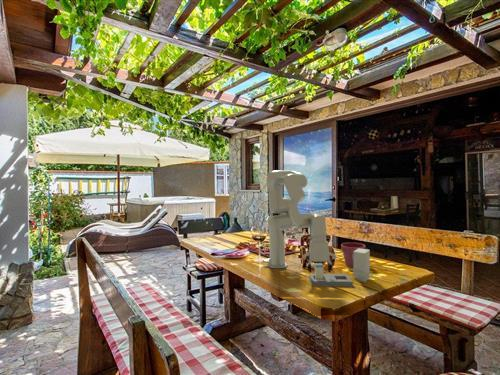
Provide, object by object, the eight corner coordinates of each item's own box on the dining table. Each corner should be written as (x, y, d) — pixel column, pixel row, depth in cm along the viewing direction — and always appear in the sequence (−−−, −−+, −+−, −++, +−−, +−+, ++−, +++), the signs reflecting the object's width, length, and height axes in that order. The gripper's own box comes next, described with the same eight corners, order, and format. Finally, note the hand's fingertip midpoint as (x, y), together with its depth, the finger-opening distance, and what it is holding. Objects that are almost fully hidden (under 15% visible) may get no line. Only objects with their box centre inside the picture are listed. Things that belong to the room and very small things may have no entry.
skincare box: (358, 276, 164) (358, 247, 163) (370, 278, 160) (370, 249, 159) (352, 280, 157) (352, 250, 157) (365, 282, 153) (365, 252, 153)
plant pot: (348, 269, 176) (348, 248, 176) (337, 263, 190) (337, 243, 189) (370, 267, 179) (370, 246, 178) (357, 261, 192) (357, 241, 192)
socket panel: (311, 287, 148) (311, 280, 148) (309, 279, 160) (309, 273, 160) (352, 287, 146) (352, 281, 146) (347, 279, 158) (347, 273, 158)
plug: (315, 283, 152) (315, 265, 152) (314, 280, 156) (314, 263, 156) (323, 283, 151) (323, 265, 151) (322, 280, 155) (322, 263, 155)
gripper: (302, 240, 150) (303, 273, 150) (337, 239, 148) (338, 273, 148) (301, 237, 157) (302, 269, 158) (334, 237, 156) (335, 269, 156)
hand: (319, 271), depth 153 cm, fingers open, 9 cm apart
